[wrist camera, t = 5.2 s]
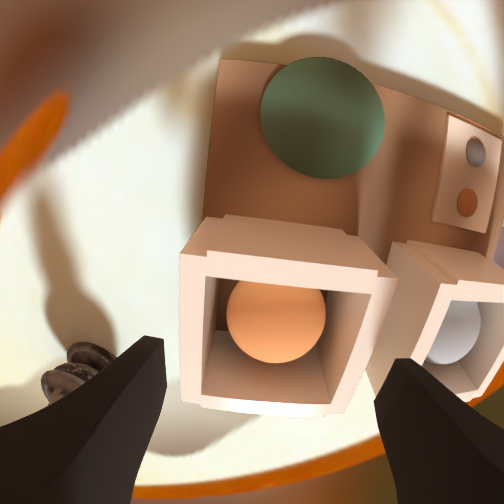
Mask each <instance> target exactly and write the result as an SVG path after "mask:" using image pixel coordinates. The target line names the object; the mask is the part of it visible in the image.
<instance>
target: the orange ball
mask: <svg viewBox="0 0 504 504" xmlns="http://www.w3.org/2000/svg"><path fill="white" fill-rule="evenodd" d="M226 318H227V325H228V329H229V332H230V334H231V336H232V338H233V340H234V341H235V343H236V344H237V345H238V346H239V348H240V349H241V350H242V351H244V352H245V353H246V354H248V355H249V356H251V357H252V358H254V359H256V360H259V361H262V362H267V363H284V362H289V361H292V360H295V359H297V358H299V357H301V356H303V355H304V354H306V353H307V352H308V351H309V350H310V349H311V348H312V347H313V346H314V345H315V344H316V342H317V341H318V339H319V338H320V336H321V334H322V331H323V329H324V325H325V320H326V308H325V303H324V299H323V296H322V294H321V291H320V290H319V289H313V288H304V287H294V286H285V285H276V284H267V283H258V282H250V281H242V280H240V281H239V282H238V283H237V285H236V286H235V287H234V289H233V291H232V293H231V295H230V297H229V300H228V304H227V312H226Z"/></svg>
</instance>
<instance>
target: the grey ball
mask: <svg viewBox="0 0 504 504" xmlns="http://www.w3.org/2000/svg"><path fill="white" fill-rule="evenodd" d="M480 327H481V315H480V310H479V307H478V305H477V302H474V301H457V300H451V302H450V305H449V307H448V310H447V312H446V315H445V317H444V319H443V322H442V324H441V326H440V329H439V331H438V333H437V335H436V338H435V340H434V342H433V344H432V346H431V348H430V350H429V352H428V354H427V356H426V358H425V361H427V362H430V363H432V364H438V365H444V364H450V363H453V362H456V361H458V360H459V359H461V358H462V357H464V356H465V355H466V354H467V353H468V352H469V351H470V350H471V349H472V347H473V346H474V344H475V342H476V340H477V338H478V335H479V332H480Z"/></svg>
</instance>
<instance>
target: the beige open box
mask: <svg viewBox="0 0 504 504" xmlns="http://www.w3.org/2000/svg"><path fill="white" fill-rule="evenodd" d="M219 278H225V279H233V280H242V281H250V282H258V283H267V284H276V285H285V286H294V287H304V288H313V289H323V290H328V294H327V298H326V302H325V308H326V320H325V325H324V329H323V331H322V334H321V336H320V338H319V339H318V341H317V342H316V344H315V345H314V346H313V347H312V348H311V349H310V350H309V351H308V352H307V353H306V354H304V355H303V356H301V357H299V358H297V359H295V360H292V361H289V362H284V363H267V362H262V361H259V360H256V359H254V358H252V357H251V356H249V355H248V354H246V353H245V352H244V351H242V350H241V349H240V348H239V346H238V345H237V344H236V343H235V341H234V340H233V338H232V336H231V334H230V332H227V331H219V330H216V318H217V304H218V291H219ZM397 282H398V278H397V277H396V276H395V274H394V273H393V272H392V271H391V270H390V269H389V268H388V267H387V266H386V265H385V264H384V263H383V262H382V261H381V259H380V258H379V257H378V256H377V255H376V254H375V253H374V252H373V251H372V250H371V249H370V248H369V247H368V246H367V245H366V244H365V243H364V242H363V241H362V240H361V239H360V238H359V237H358V236H353V235H347V234H346V233H345V232H344V231H343V230H342V229H336V228H329V227H322V226H315V225H307V224H300V223H293V222H285V221H277V220H269V219H261V218H253V217H245V216H236V215H228V214H225V216H224V218H223V219H222V218H213V217H206V218H205V219H204V220H203V222H202V223H201V224H200V226H199V227H198V229H197V230H196V231H195V233H194V234H193V235H192V237H191V238H190V240H189V241H188V242H187V244H186V245H185V247H184V248H183V249H182V251H181V252H180V255H179V362H180V384H181V401H186V402H192V403H197V404H201V407H204V408H211V409H219V410H226V411H234V412H244V413H254V414H267V415H284V416H325V415H326V414H330V413H345V411H346V409H347V407H348V405H349V403H350V401H351V399H352V397H353V395H354V393H355V390H356V388H357V386H358V384H359V382H360V380H361V377H362V375H363V373H364V371H365V368H366V366H367V364H368V361H369V359H370V357H371V354H372V352H373V349H374V347H375V344H376V342H377V339H378V337H379V334H380V332H381V329H382V326H383V324H384V321H385V318H386V315H387V312H388V310H389V307H390V304H391V301H392V298H393V295H394V292H395V289H396V286H397Z"/></svg>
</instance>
